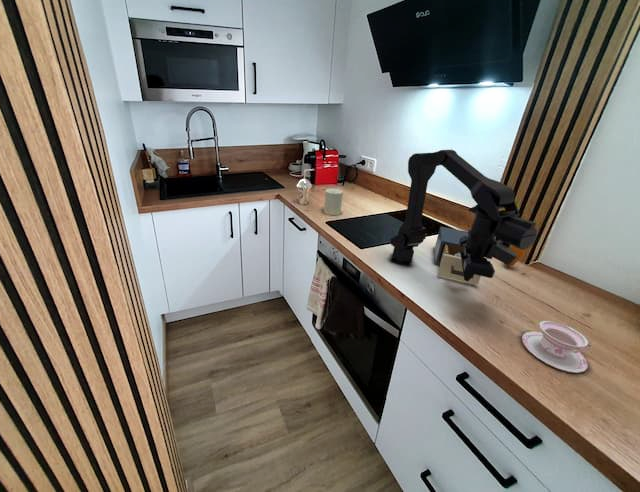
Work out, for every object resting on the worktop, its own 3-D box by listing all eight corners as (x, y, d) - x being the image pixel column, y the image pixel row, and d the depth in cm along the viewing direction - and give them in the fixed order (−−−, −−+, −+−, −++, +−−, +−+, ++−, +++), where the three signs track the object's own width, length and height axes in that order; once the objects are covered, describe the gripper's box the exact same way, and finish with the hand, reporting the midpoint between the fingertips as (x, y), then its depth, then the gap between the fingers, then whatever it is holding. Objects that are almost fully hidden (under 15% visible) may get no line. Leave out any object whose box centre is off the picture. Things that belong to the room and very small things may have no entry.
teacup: (523, 356, 67) (533, 337, 65) (519, 326, 77) (527, 308, 74) (593, 383, 61) (607, 363, 59) (579, 347, 71) (591, 328, 68)
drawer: (479, 291, 89) (487, 270, 85) (437, 281, 93) (444, 260, 90) (472, 266, 102) (479, 246, 99) (437, 258, 107) (442, 239, 104)
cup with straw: (302, 199, 167) (304, 165, 159) (314, 203, 162) (317, 168, 153) (292, 202, 162) (294, 167, 154) (304, 206, 156) (307, 170, 148)
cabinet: (475, 273, 100) (484, 249, 96) (434, 264, 105) (441, 240, 101) (470, 255, 111) (478, 233, 107) (434, 248, 116) (440, 226, 112)
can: (321, 213, 147) (323, 191, 142) (324, 207, 155) (326, 186, 151) (339, 216, 145) (342, 193, 140) (341, 210, 153) (344, 188, 148)
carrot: (510, 271, 101) (525, 234, 95) (496, 264, 106) (511, 228, 100) (520, 270, 103) (536, 232, 97) (506, 262, 107) (521, 226, 101)
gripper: (530, 254, 65) (506, 308, 72) (511, 225, 81) (493, 271, 87) (474, 243, 70) (456, 295, 76) (466, 217, 85) (452, 262, 92)
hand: (466, 280), depth 83 cm, fingers closed
